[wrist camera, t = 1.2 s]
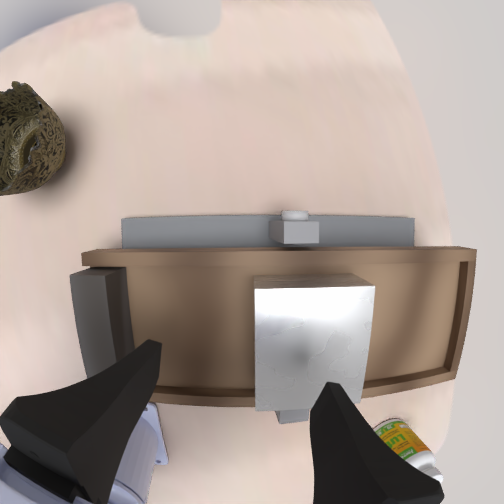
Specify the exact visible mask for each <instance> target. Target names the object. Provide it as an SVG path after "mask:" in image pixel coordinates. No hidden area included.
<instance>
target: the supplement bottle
mask: <svg viewBox="0 0 504 504" xmlns="http://www.w3.org/2000/svg"><path fill="white" fill-rule="evenodd" d="M373 430H374V431H375V432H376V434H377V435H378V436H379V437H380V438H381V439H382V440H383V441H384V442H385V443H386V444H387V445H388V446H389V447H390V448H391V449H392V450H393V451H394V452H395V453H397V454H398V455H399V456H400V457H401V458H403V459H404V460H405V461H407V462H408V463H409V464H411V465H412V466H414V467H415V468H417V469H418V470H420V471H421V472H423V473H425V474H427V475H429V476H430V477H432V478H434V479H436V480H438V481H439V482H440V484H441V483H442V481H443V475H442V474H441V473H440V471H439V470H438V469H437V468H436V467H434V466H435V462H436V458H435V456H434V454H433V453H432V452H431V450H430V449H429V448H428V447H427V446H426V445H425V444H424V443H423V442H422V441H421V440H420V439H419V437H418V436H417V435H416V434H415V433H414V432H413V431H412V430H411V429H410V428H409V426H408V425H407V424H406V423H405V422H404V421H402V420H400V419H391V420H388V421H385V422H383V423H381V424H380V425H378V426H377V427H376V428H374V429H373Z"/></svg>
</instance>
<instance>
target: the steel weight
mask: <svg viewBox="0 0 504 504" xmlns="http://www.w3.org/2000/svg"><path fill="white" fill-rule="evenodd" d="M374 296H375V285H373V284H371V283H369V282H368V281H366V280H364V279H362V278H360V277H359V276H357V275H355V274H353V273H349V274H307V275H254V381H255V411H279V410H297V409H311V408H312V407H313V406H314V404H315V402H316V400H317V399H318V397H319V395H320V393H321V391H322V390H323V388H324V386H325V384H326V382H334V383H340V385H341V386H342V387H343V389H344V390H345V392H346V393H347V395H348V396H349V398H350V399H351V401H352V402H353V403H354V404H355V403H360V401H361V395H362V390H363V384H364V378H365V372H366V365H367V359H368V351H369V344H370V336H371V327H372V318H373V307H374Z"/></svg>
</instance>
